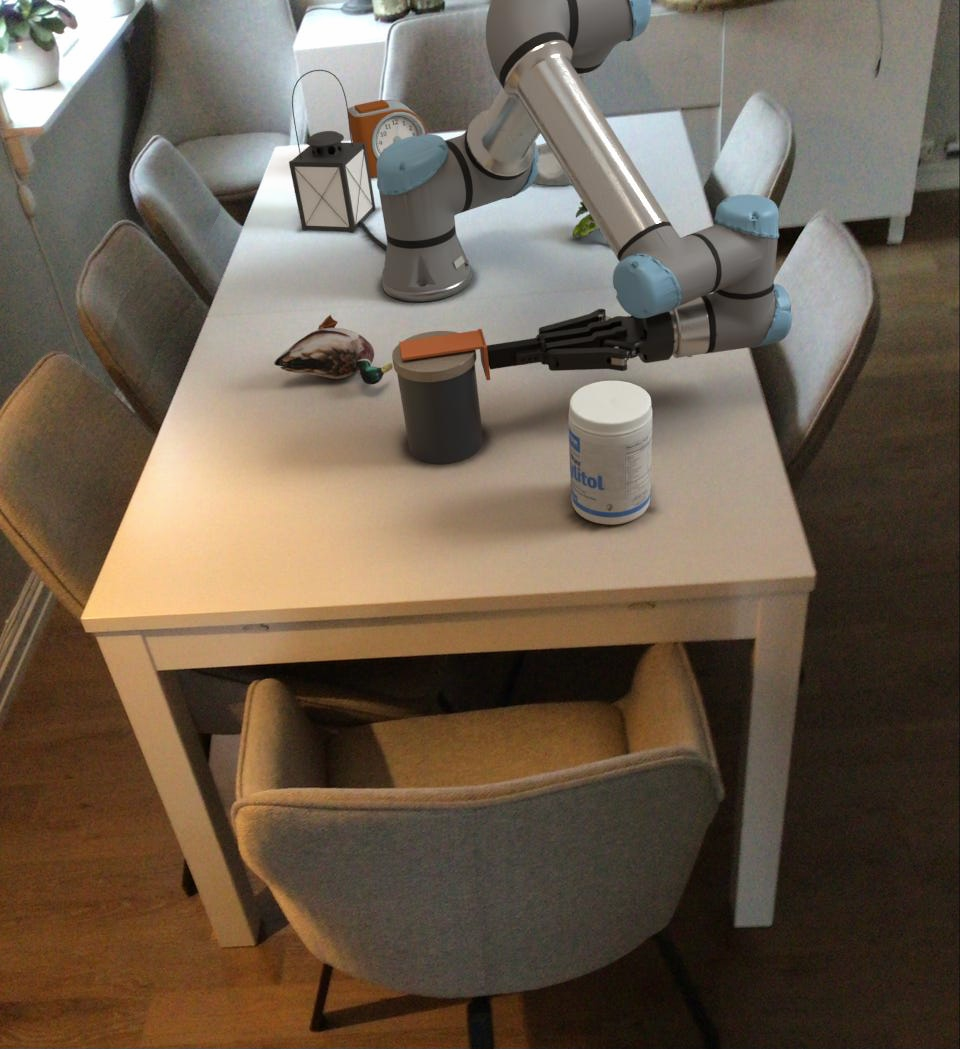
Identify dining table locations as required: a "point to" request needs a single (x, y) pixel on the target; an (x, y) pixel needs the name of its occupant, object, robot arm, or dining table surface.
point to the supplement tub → (610, 451)
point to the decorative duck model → (332, 354)
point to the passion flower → (584, 223)
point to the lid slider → (447, 347)
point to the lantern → (332, 181)
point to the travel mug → (440, 404)
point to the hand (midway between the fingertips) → (488, 357)
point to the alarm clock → (382, 127)
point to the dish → (549, 168)
